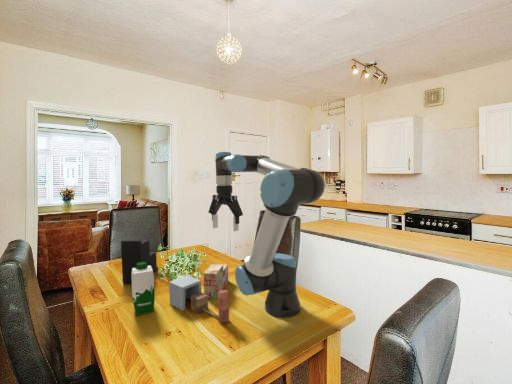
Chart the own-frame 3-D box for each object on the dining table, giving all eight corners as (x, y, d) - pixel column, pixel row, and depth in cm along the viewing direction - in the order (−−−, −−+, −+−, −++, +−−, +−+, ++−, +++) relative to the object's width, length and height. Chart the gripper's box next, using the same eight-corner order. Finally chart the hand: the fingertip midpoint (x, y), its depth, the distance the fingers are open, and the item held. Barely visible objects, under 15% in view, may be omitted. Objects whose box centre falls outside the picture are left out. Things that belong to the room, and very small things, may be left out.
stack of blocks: (217, 280, 151) (216, 258, 150) (228, 281, 150) (228, 258, 149) (204, 298, 130) (203, 272, 129) (216, 299, 129) (216, 273, 128)
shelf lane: (201, 302, 125) (200, 280, 125) (183, 310, 118) (182, 287, 117) (188, 296, 132) (187, 275, 131) (169, 303, 124) (169, 281, 124)
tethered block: (232, 320, 109) (231, 291, 108) (222, 326, 106) (221, 295, 105) (200, 305, 122) (199, 279, 122) (191, 309, 119) (190, 282, 118)
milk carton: (153, 303, 125) (151, 260, 124) (156, 312, 117) (154, 265, 116) (132, 307, 121) (130, 263, 120) (133, 317, 113) (131, 269, 112)
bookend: (141, 269, 171) (139, 231, 169) (158, 269, 171) (157, 231, 169) (122, 284, 148) (120, 241, 146) (142, 284, 147) (140, 241, 146)
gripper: (249, 184, 126) (250, 230, 128) (211, 184, 141) (212, 225, 143) (239, 185, 120) (240, 233, 122) (200, 185, 135) (201, 227, 137)
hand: (225, 229), depth 132 cm, fingers open, 13 cm apart
